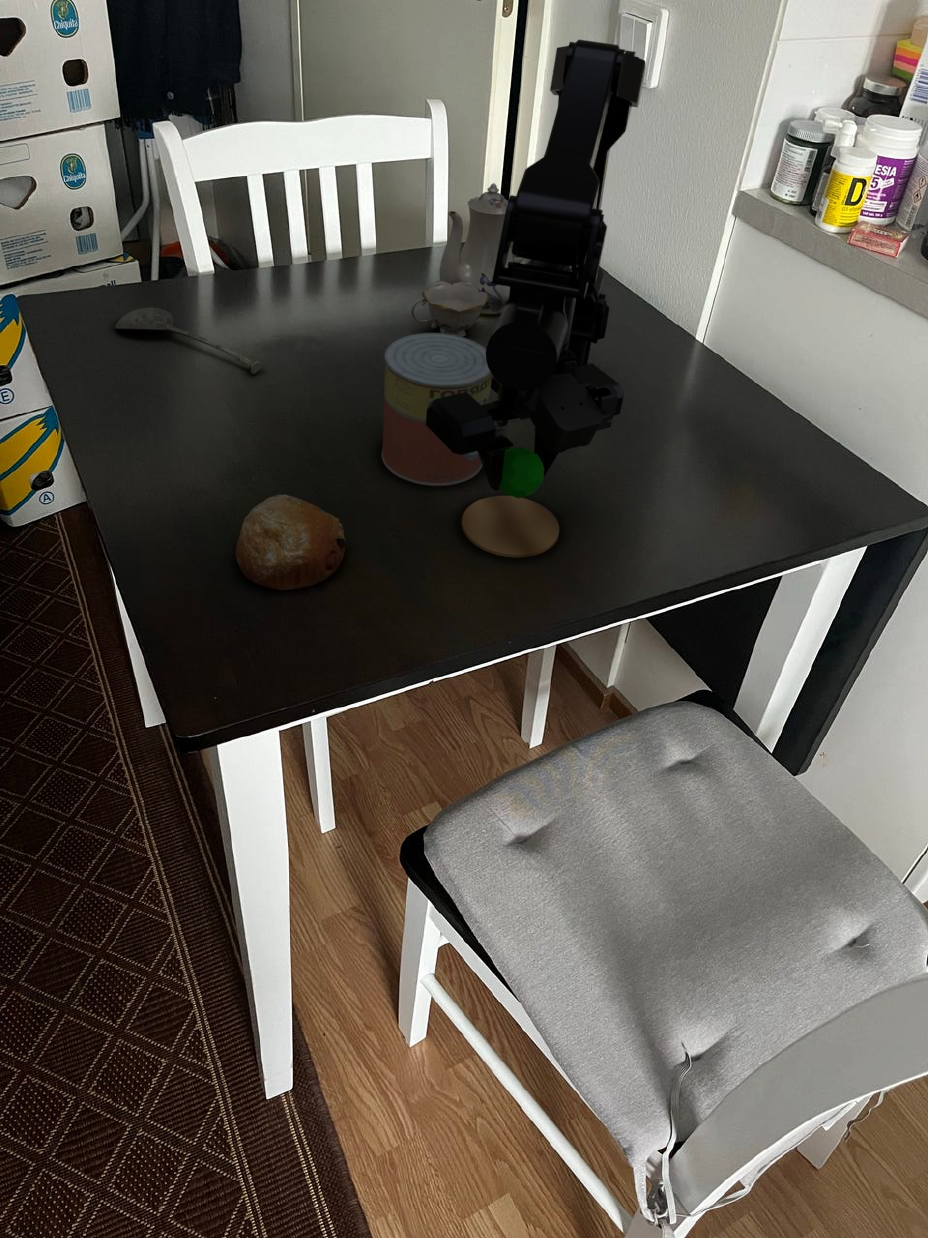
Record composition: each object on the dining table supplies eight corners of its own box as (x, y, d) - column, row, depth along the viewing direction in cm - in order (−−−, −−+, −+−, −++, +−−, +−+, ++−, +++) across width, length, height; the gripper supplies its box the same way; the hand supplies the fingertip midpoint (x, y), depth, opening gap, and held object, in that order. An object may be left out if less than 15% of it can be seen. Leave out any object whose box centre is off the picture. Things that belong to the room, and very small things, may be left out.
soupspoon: (144, 316, 130) (106, 336, 126) (139, 292, 127) (100, 311, 123) (274, 363, 122) (239, 386, 118) (271, 338, 119) (235, 360, 115)
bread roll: (262, 554, 100) (222, 495, 95) (355, 521, 98) (319, 458, 93) (255, 620, 93) (211, 560, 88) (355, 585, 91) (316, 522, 86)
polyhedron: (481, 493, 98) (485, 452, 94) (507, 472, 101) (513, 432, 98) (524, 513, 96) (530, 472, 93) (549, 491, 99) (556, 450, 96)
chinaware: (443, 367, 128) (462, 245, 116) (374, 304, 136) (385, 184, 124) (602, 323, 142) (632, 210, 130) (530, 268, 150) (553, 157, 138)
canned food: (447, 498, 104) (456, 397, 96) (361, 461, 108) (362, 360, 100) (501, 453, 111) (514, 355, 103) (418, 419, 115) (424, 322, 107)
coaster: (524, 489, 106) (524, 486, 106) (577, 541, 100) (578, 538, 100) (443, 512, 102) (444, 509, 102) (494, 568, 96) (495, 565, 96)
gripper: (495, 400, 78) (478, 553, 89) (676, 357, 86) (640, 503, 97) (427, 338, 85) (418, 488, 95) (601, 304, 93) (575, 445, 103)
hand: (516, 482), depth 97 cm, fingers closed on polyhedron, 5 cm apart
